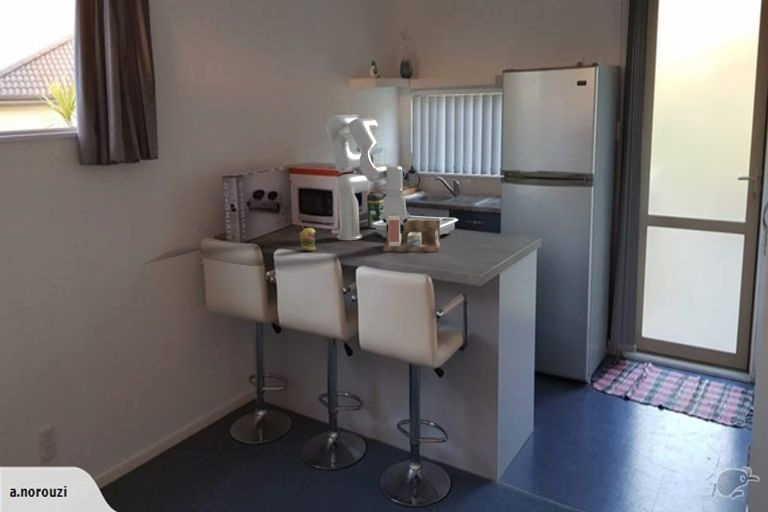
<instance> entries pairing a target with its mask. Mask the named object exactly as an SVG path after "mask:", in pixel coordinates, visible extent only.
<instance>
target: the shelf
mask: <svg viewBox="0 0 768 512" xmlns="http://www.w3.org/2000/svg"><path fill="white" fill-rule="evenodd" d="M440 246H441V235H440V220H407V221H406V222H405V223H404V231H403V232H402V243H401V245H400V246H389V233H388V231H387V225H386V240H385V243H384V244H383V246H382V251H383V252H421V253H422V252H425V253H426V252H427V253H430V252H431V253H432V252H433V253H434V252H439V249H440Z"/></svg>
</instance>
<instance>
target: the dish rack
mask: <svg viewBox="0 0 768 512" xmlns="http://www.w3.org/2000/svg"><path fill="white" fill-rule="evenodd" d="M410 216H411V218H410V219H409V220H440V236H441V235H443V234H444V235H445V234H447V235H448V234H449V232H451V231H452V230H455V223H456V222H458V221H459V219H458V218H456V217H446V216H445V217H437V216H421V215H410ZM405 218H407V216H406V217H405ZM405 218H403V219H405ZM385 219H386V218H385ZM386 220H387V219H386ZM372 224H373V225H376V228H375V232H376V233H377V234H379V235H380V236H382V238H386V223H385V222H384V221H383V220H380V221H377V222H374V223H372Z"/></svg>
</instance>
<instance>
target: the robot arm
mask: <svg viewBox="0 0 768 512" xmlns="http://www.w3.org/2000/svg"><path fill="white" fill-rule="evenodd" d="M378 131H379V125H378V122H377V120H376V119H374V118H372V117H368V116H365V115H362V114H338V115H334V116H331V117H330V118H329V119H328V121H327V124H326V134H327V138H328V140H329V143H330V146H331V151H332V155H333V160H334V164H335V169H336V170H337V171H338V172H339V173H347V172H348V173H349V172H353V173H349V174H348V173H347V174H342V175H341V176H339V177H338V178H337V180H336V182H335V186H336V192H337V195H338V209H339V211H338V213H339V229H331V234H332V235H337V236H336V238H337V240H340V241H356V240H357V241H359V240H362V239H363V238H364V237H363V234H361V233H360V217H359V215H360V213H359V212H360V211H359V201H358V198H357V196H356V195H355V194H359V193H364V192H367V191H369V188H370V185H371V183H378V182H385V190H383V191H382V194H383V195H385V196H384V209H383V212H382V213H381V215H380V216H379V218H380V219H381V220H383V221H384V222H385V223H386V225H387V231H388V233H389V230H388V215H400V221H401V225H400V233H402V232H403V231H404V223H405V222H406V221H407V220H409V219H410V218H411V216H412V215H411V214H410V213H409V212H408V210H407V206H406V205H407V204H406V198H405V196H404V184H403V182H404V180H403V179H404V177H403V167H402V166H401V165H393V164H389V163H384V164H375V165H374V164H373V162H372V160H371V157H370V154H372V152H375V150H376V149H377V148H378V142H377V140H376V138H375V137H374V136H375V135H376V134H377V133H378ZM344 133H345V134H348V133H350V134H351V136H352V137H353V140H354V142H355V143H356V146H358V147H357V148H358V149H359V151H351V148H350V144H349V141H348V139H347V137H346V136H345V135H344ZM383 216H384V217H383ZM406 216H407V218H405V217H406ZM403 218H405V219H403ZM386 219H387V220H386Z"/></svg>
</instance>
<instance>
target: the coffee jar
mask: <svg viewBox="0 0 768 512" xmlns="http://www.w3.org/2000/svg"><path fill="white" fill-rule="evenodd" d="M384 195H385V194H383V192H373V193H371V194H368V195H367V196H366V197H367V199H366V202H367V227H368V228H369V229H371V230H372V229H373V230H376V225H373V224H372V223H374V222H377V221H380V220H381V219H380V218H379V216H380V215H381V213H382V212H383V209H384V198H385V196H384ZM383 217H384V216H383Z"/></svg>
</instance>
